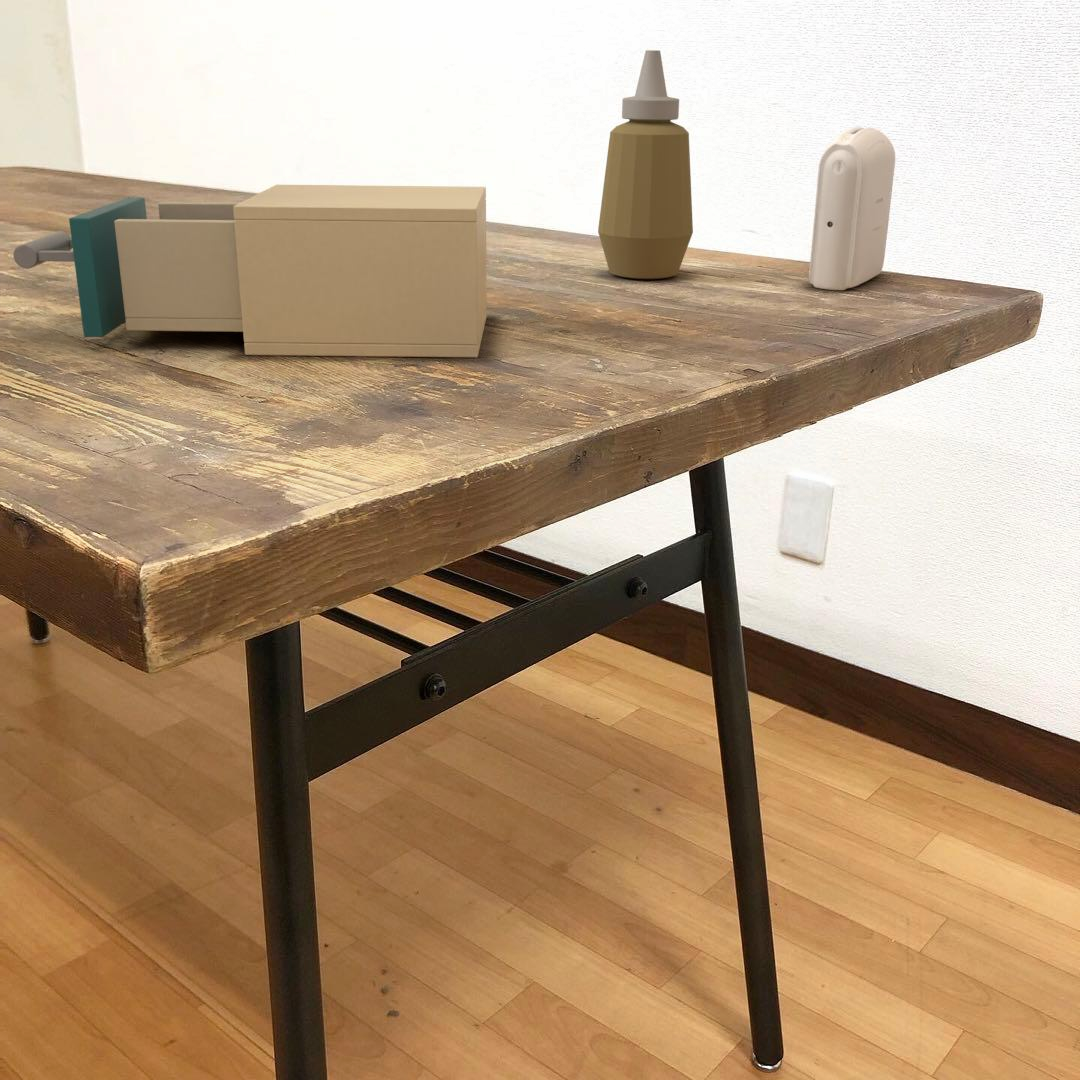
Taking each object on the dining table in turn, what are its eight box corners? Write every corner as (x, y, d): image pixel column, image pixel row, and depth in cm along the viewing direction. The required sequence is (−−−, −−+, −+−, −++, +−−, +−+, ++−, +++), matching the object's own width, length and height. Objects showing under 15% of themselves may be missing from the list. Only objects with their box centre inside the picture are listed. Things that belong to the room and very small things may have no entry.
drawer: (8, 336, 78) (-10, 217, 75) (72, 301, 88) (59, 196, 85) (298, 339, 77) (290, 220, 75) (328, 304, 88) (322, 199, 85)
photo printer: (852, 293, 99) (869, 131, 95) (801, 287, 101) (815, 129, 97) (888, 275, 108) (905, 125, 103) (840, 270, 110) (855, 123, 105)
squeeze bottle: (621, 285, 101) (629, 50, 95) (581, 270, 108) (586, 49, 102) (707, 280, 104) (721, 51, 98) (663, 265, 111) (673, 50, 105)
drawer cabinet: (244, 355, 77) (232, 205, 74) (284, 315, 89) (275, 184, 86) (477, 357, 77) (476, 208, 74) (486, 317, 89) (485, 186, 86)
